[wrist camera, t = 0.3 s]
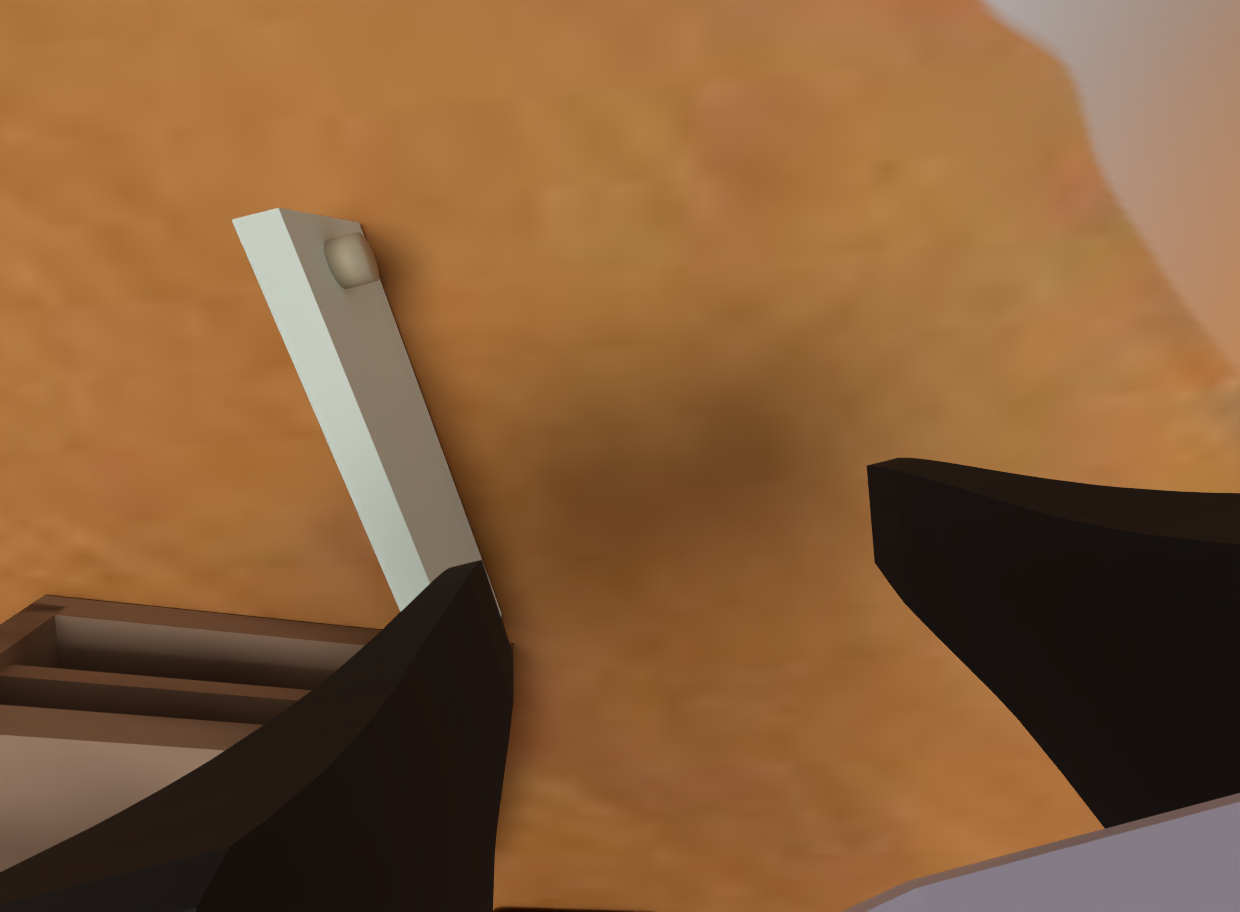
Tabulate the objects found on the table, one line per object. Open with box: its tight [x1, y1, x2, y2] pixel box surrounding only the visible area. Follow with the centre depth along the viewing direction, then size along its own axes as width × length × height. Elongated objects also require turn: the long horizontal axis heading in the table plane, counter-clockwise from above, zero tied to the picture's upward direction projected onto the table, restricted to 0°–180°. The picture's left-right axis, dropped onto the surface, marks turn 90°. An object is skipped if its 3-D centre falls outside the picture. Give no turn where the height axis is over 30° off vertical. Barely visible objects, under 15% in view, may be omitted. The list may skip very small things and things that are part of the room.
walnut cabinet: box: [0, 595, 514, 872], centre depth 20 cm, size 10×16×6 cm, turn 79°
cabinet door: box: [232, 208, 502, 616], centre depth 18 cm, size 2×15×6 cm, turn 14°
